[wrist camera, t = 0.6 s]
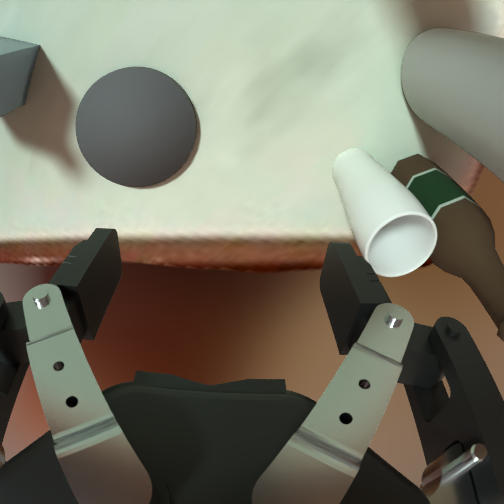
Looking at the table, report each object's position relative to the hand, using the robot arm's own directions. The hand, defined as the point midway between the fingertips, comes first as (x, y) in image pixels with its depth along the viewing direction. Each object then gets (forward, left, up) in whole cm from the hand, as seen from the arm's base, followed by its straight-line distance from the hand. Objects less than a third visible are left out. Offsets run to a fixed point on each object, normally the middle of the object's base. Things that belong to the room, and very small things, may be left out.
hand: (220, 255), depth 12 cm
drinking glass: (0, +15, -24) cm, 29 cm away
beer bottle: (-3, +23, -24) cm, 34 cm away
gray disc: (+7, -9, -24) cm, 27 cm away
